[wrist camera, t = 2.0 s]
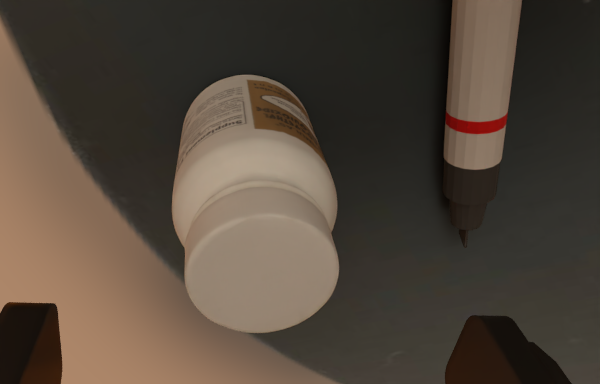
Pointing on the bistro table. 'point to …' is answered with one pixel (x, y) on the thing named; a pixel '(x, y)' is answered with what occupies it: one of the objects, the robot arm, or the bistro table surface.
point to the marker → (477, 105)
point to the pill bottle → (254, 207)
